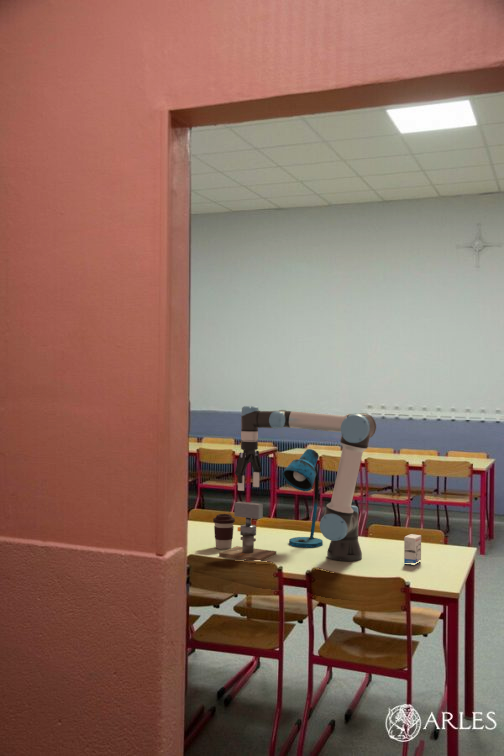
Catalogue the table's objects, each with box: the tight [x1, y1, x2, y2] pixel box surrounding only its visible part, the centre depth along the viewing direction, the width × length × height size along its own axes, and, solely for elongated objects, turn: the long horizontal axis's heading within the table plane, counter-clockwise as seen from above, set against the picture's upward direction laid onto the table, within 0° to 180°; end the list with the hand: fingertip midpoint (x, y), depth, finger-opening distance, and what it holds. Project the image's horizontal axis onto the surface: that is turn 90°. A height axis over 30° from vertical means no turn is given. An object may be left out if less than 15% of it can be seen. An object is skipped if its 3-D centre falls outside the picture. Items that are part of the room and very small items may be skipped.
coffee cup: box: [212, 513, 236, 550], centre depth 343 cm, size 10×10×15 cm
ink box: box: [403, 533, 422, 564], centre depth 318 cm, size 9×5×12 cm, turn 148°
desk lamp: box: [281, 448, 324, 549], centre depth 352 cm, size 16×22×45 cm
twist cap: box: [233, 501, 264, 537], centre depth 328 cm, size 12×7×14 cm, turn 62°
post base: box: [218, 536, 277, 561], centre depth 328 cm, size 20×16×9 cm
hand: (248, 488), depth 330 cm, fingers open, 13 cm apart
